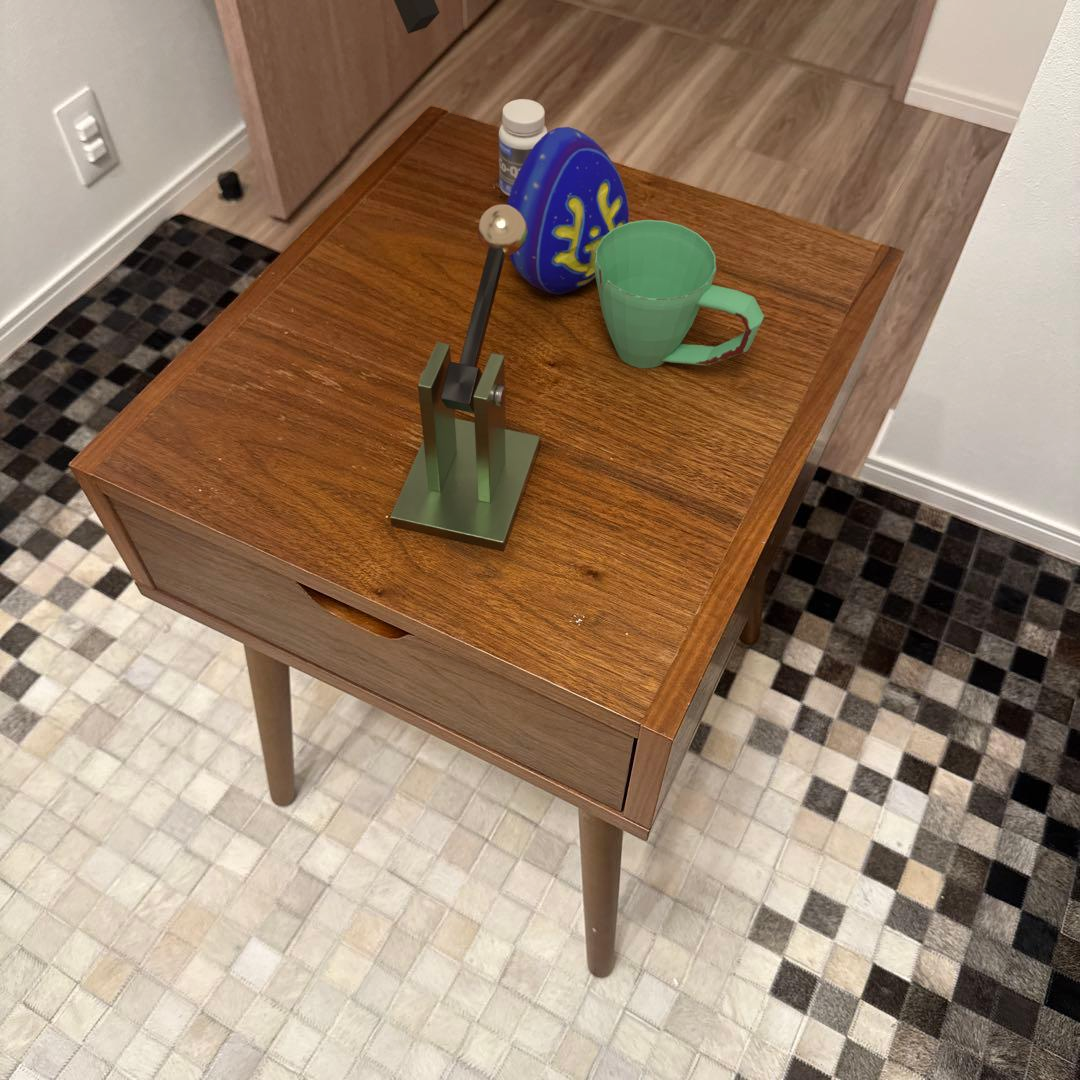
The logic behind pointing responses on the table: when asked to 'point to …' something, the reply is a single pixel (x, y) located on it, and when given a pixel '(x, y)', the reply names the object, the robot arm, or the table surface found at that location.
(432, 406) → the bracket
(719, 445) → the table surface
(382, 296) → the table surface
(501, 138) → the pill bottle
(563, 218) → the ornament
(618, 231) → the mug
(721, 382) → the table surface
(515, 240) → the lever
